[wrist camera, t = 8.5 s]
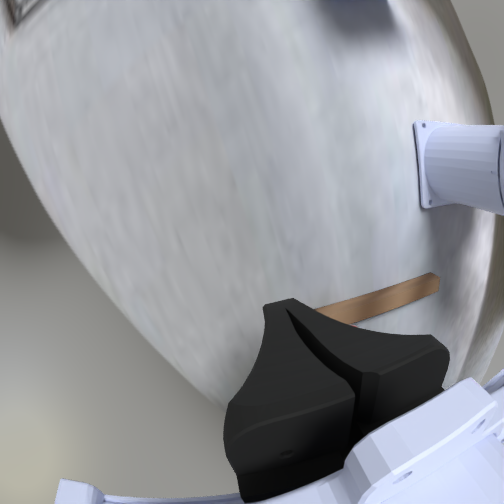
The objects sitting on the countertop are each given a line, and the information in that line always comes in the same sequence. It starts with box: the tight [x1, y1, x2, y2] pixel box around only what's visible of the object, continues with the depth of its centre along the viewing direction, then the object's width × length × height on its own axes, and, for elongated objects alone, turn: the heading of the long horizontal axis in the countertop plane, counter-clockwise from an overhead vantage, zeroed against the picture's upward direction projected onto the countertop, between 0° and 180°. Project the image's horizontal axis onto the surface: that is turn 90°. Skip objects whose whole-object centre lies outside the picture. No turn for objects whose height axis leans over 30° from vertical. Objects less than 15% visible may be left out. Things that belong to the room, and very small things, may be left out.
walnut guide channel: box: [314, 272, 440, 325], centre depth 24 cm, size 16×10×2 cm, turn 99°
